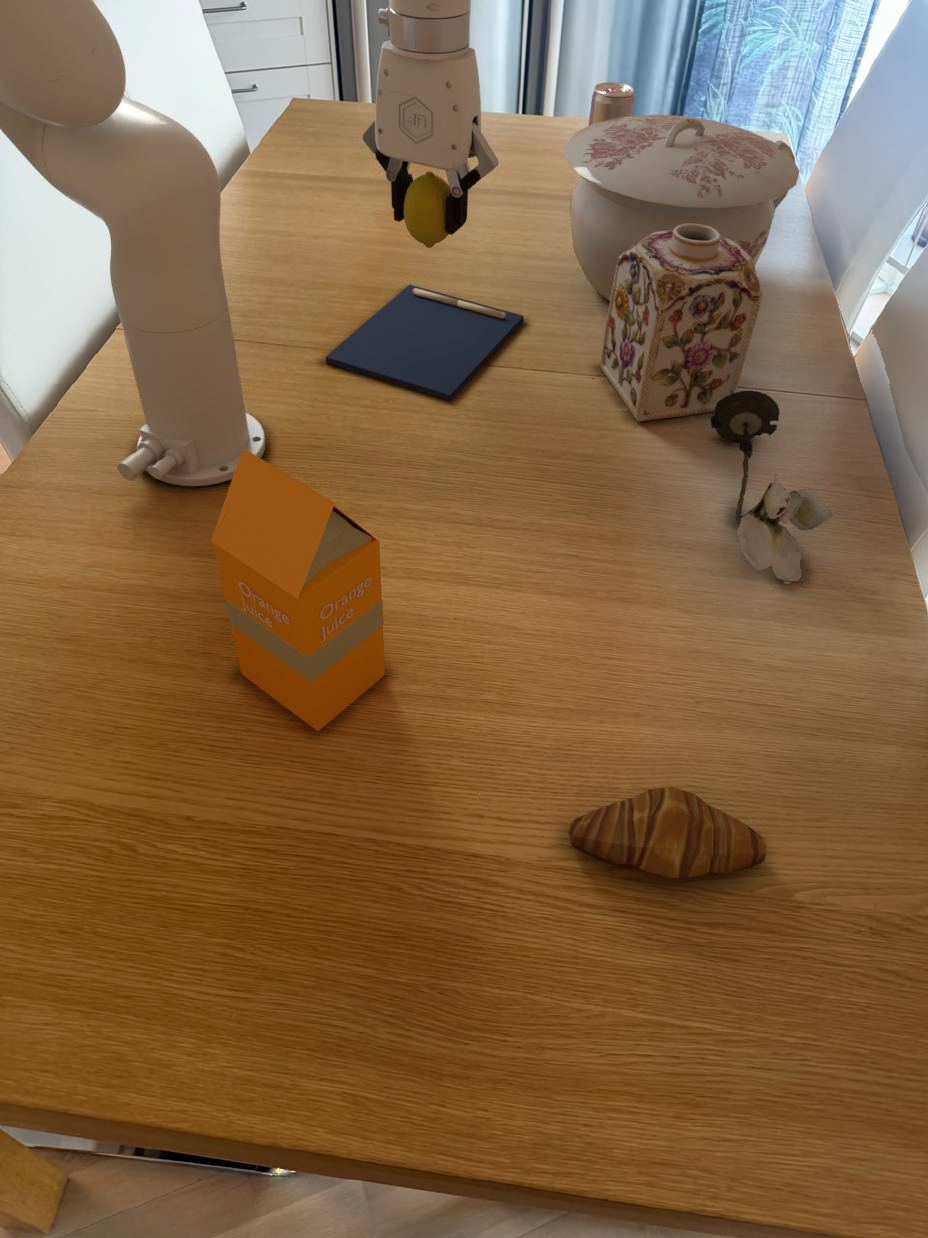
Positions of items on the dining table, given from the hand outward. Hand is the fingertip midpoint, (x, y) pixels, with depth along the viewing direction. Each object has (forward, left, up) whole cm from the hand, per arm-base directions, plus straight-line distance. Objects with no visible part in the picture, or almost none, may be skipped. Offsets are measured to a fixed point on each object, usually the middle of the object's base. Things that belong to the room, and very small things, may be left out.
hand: (429, 221), depth 100 cm
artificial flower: (-12, -43, -14) cm, 46 cm away
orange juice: (-50, -16, -14) cm, 55 cm away
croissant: (-52, -46, -14) cm, 71 cm away
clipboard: (0, 0, -14) cm, 14 cm away
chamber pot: (+26, -20, -14) cm, 36 cm away
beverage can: (+50, -3, -14) cm, 52 cm away
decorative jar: (+4, -28, -14) cm, 32 cm away
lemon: (0, 0, -3) cm, 3 cm away
